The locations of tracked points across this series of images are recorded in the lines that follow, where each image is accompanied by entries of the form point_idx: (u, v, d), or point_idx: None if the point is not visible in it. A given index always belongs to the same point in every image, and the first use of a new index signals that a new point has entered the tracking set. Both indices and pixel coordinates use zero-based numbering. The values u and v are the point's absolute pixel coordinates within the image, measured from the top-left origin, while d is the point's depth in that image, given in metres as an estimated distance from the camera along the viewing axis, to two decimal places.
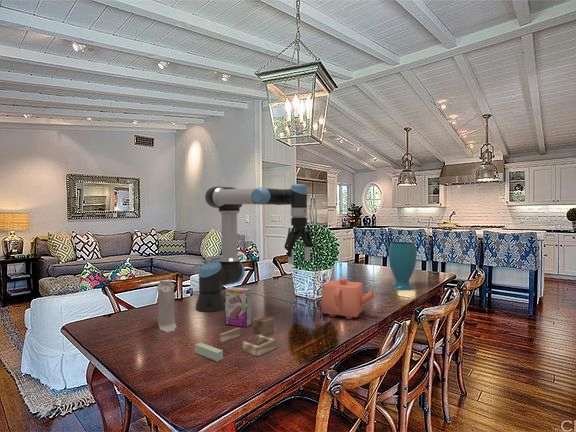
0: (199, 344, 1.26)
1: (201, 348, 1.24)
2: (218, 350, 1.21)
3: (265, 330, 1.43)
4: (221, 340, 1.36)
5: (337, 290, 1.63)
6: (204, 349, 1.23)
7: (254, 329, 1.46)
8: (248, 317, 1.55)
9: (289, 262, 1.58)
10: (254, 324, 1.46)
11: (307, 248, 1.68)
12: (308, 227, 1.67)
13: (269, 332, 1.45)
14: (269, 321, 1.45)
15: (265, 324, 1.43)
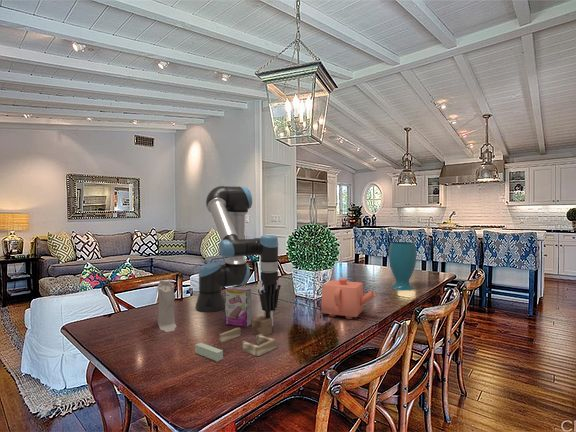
0: (199, 344, 1.26)
1: (201, 348, 1.24)
2: (218, 350, 1.21)
3: (264, 330, 1.42)
4: (221, 340, 1.36)
5: (337, 290, 1.63)
6: (204, 349, 1.23)
7: (252, 330, 1.45)
8: (248, 317, 1.55)
9: None
10: (253, 324, 1.45)
11: None
12: None
13: (268, 332, 1.44)
14: (268, 321, 1.44)
15: (264, 324, 1.42)
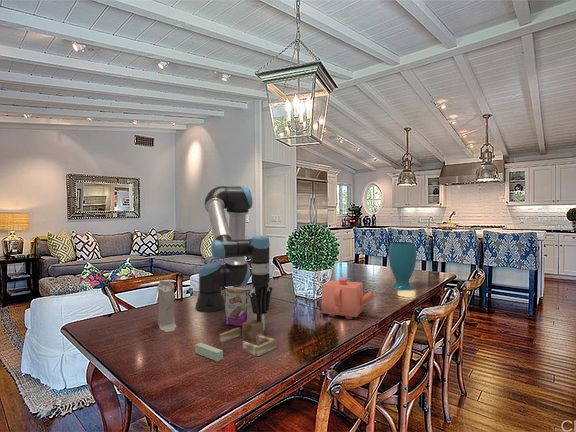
0: (199, 344, 1.26)
1: (201, 348, 1.24)
2: (218, 350, 1.21)
3: (254, 334, 1.38)
4: (221, 340, 1.36)
5: (337, 290, 1.63)
6: (204, 349, 1.23)
7: (243, 334, 1.40)
8: (248, 317, 1.55)
9: None
10: (243, 328, 1.40)
11: None
12: (271, 288, 1.49)
13: None
14: (259, 325, 1.40)
15: (255, 328, 1.38)
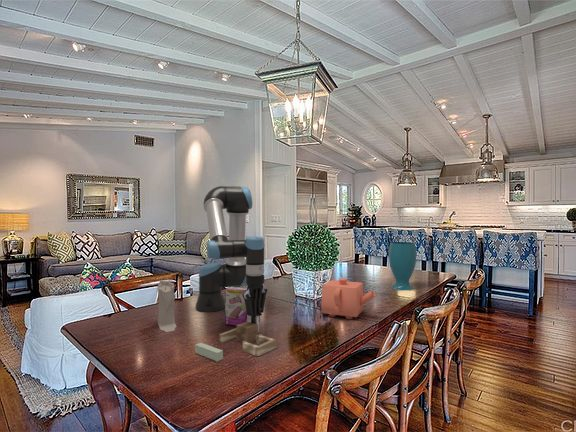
0: (199, 344, 1.26)
1: (201, 348, 1.24)
2: (218, 350, 1.21)
3: (249, 337, 1.35)
4: (221, 340, 1.36)
5: (337, 290, 1.63)
6: (204, 349, 1.23)
7: (237, 336, 1.38)
8: (248, 317, 1.55)
9: None
10: (237, 330, 1.38)
11: None
12: (266, 289, 1.46)
13: (253, 339, 1.37)
14: (253, 327, 1.37)
15: (249, 330, 1.35)
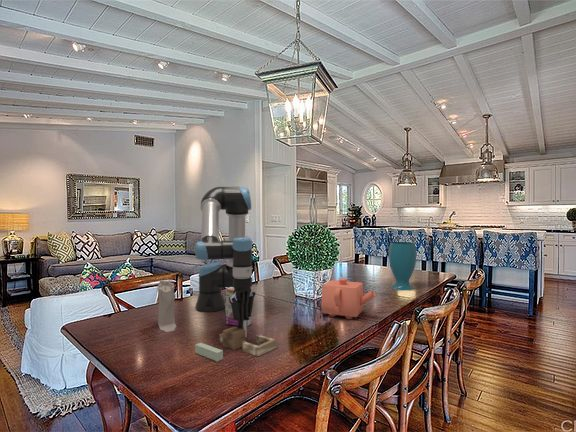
0: (199, 344, 1.26)
1: (201, 348, 1.24)
2: (218, 350, 1.21)
3: (235, 343, 1.29)
4: (221, 340, 1.36)
5: (337, 290, 1.63)
6: (204, 349, 1.23)
7: (223, 342, 1.32)
8: None
9: None
10: (224, 336, 1.32)
11: None
12: (254, 292, 1.40)
13: (240, 345, 1.31)
14: (240, 333, 1.31)
15: (235, 336, 1.29)
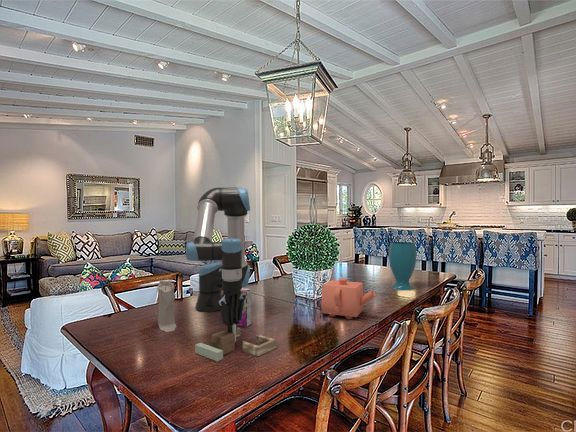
0: (199, 344, 1.26)
1: (201, 348, 1.24)
2: (218, 350, 1.21)
3: (224, 348, 1.25)
4: None
5: (337, 290, 1.63)
6: (204, 349, 1.23)
7: (212, 346, 1.27)
8: (248, 317, 1.55)
9: None
10: (212, 340, 1.27)
11: None
12: (245, 295, 1.36)
13: (229, 350, 1.27)
14: (229, 337, 1.27)
15: (224, 341, 1.25)
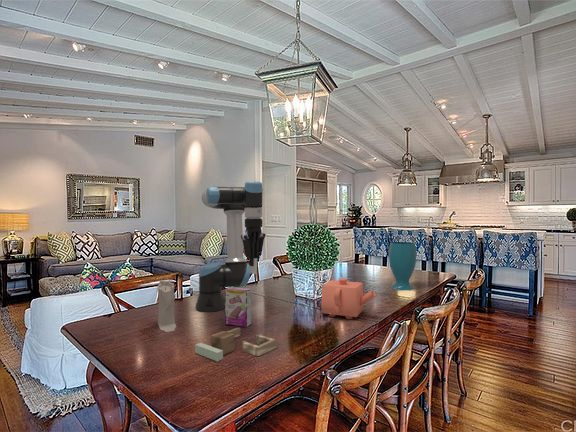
0: (199, 344, 1.26)
1: (201, 348, 1.24)
2: (218, 350, 1.21)
3: (224, 348, 1.25)
4: None
5: (337, 290, 1.63)
6: (204, 349, 1.23)
7: None
8: (248, 317, 1.55)
9: (251, 271, 1.47)
10: (212, 341, 1.27)
11: None
12: (264, 234, 1.51)
13: (229, 350, 1.27)
14: (229, 337, 1.27)
15: (224, 341, 1.25)
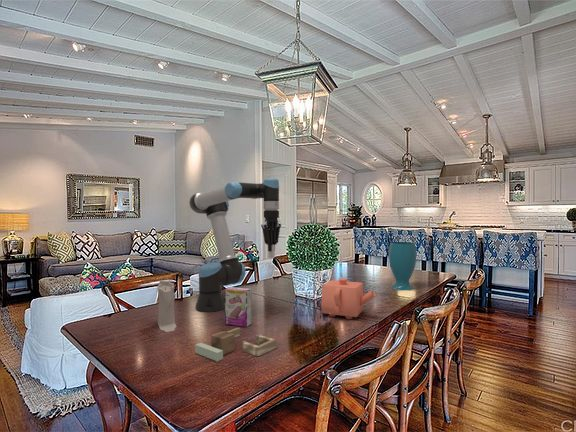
0: (199, 344, 1.26)
1: (201, 348, 1.24)
2: (218, 350, 1.21)
3: (224, 348, 1.25)
4: None
5: (337, 290, 1.63)
6: (204, 349, 1.23)
7: None
8: (248, 317, 1.55)
9: (269, 256, 1.70)
10: (212, 341, 1.27)
11: None
12: (280, 224, 1.74)
13: (229, 350, 1.27)
14: (229, 337, 1.27)
15: (224, 341, 1.25)
